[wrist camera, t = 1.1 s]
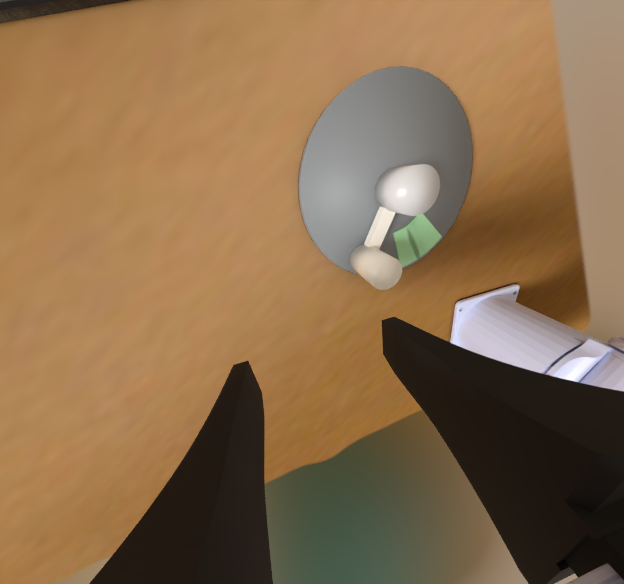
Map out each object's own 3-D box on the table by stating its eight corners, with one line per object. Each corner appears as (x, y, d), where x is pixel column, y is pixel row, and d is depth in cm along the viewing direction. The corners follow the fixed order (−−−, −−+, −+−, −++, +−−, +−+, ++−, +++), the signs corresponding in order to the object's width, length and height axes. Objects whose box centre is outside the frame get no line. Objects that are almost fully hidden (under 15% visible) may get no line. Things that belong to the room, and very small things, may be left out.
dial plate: (452, 251, 22) (461, 254, 21) (315, 288, 20) (318, 293, 20) (474, 59, 16) (489, 50, 15) (276, 90, 14) (278, 83, 13)
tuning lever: (385, 159, 16) (419, 154, 13) (418, 176, 17) (457, 174, 14) (342, 267, 19) (361, 285, 15) (372, 275, 20) (395, 293, 16)
